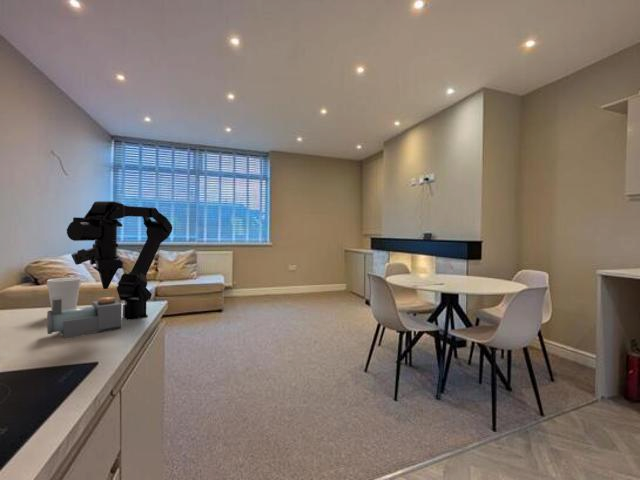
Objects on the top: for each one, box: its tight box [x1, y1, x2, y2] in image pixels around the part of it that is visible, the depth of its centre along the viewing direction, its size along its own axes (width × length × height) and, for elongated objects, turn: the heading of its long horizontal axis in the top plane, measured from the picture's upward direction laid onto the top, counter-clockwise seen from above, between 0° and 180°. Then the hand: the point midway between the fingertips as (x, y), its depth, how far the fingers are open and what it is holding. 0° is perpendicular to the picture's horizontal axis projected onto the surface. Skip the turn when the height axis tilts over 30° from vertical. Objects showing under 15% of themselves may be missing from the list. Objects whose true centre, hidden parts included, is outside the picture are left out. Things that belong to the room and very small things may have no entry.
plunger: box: [97, 296, 116, 305], centre depth 97 cm, size 5×5×4 cm
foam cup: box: [46, 276, 82, 310], centre depth 110 cm, size 10×9×13 cm
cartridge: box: [46, 297, 96, 335], centre depth 91 cm, size 11×7×10 cm, turn 136°
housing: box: [59, 299, 122, 340], centre depth 94 cm, size 14×10×8 cm
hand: (105, 288), depth 97 cm, fingers closed
